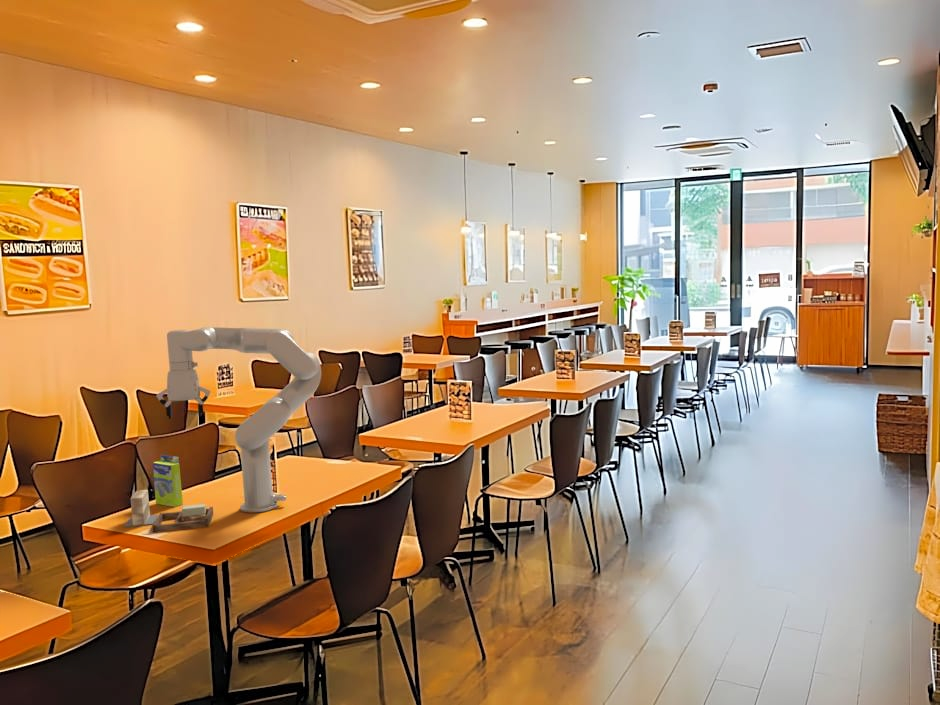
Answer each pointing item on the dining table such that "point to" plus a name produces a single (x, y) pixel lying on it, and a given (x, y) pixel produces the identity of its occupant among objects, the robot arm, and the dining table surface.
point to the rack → (178, 524)
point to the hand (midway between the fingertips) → (185, 416)
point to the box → (167, 481)
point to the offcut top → (194, 510)
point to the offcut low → (194, 518)
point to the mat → (149, 522)
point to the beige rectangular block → (140, 507)
